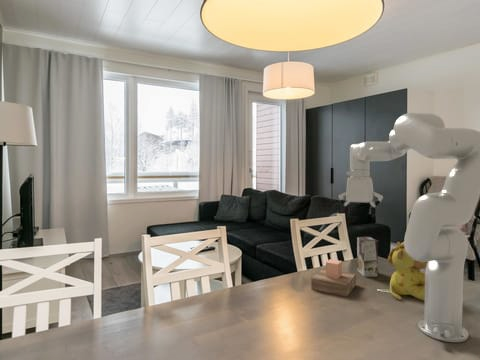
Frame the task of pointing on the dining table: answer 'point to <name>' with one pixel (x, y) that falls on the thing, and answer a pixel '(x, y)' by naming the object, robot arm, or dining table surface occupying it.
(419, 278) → the giraffe plush
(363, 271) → the coffee box
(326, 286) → the walnut base
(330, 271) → the terracotta block
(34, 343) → the dining table surface
